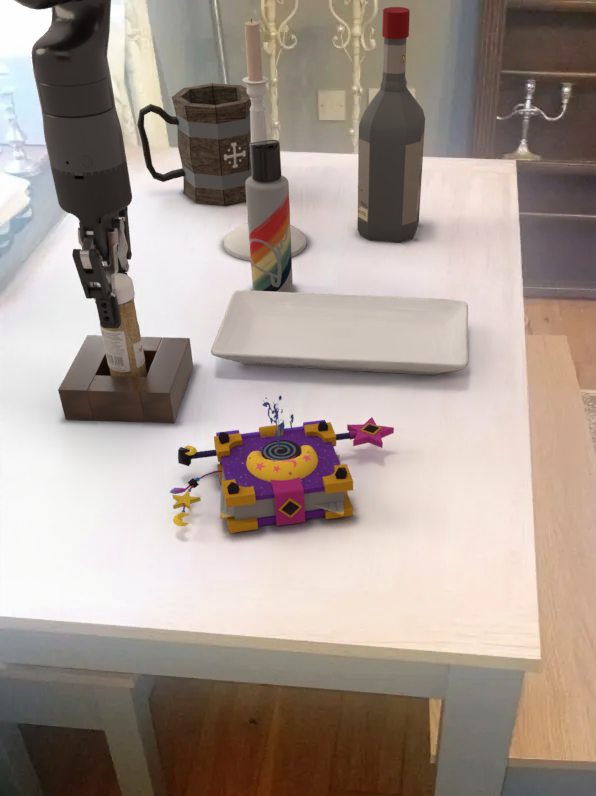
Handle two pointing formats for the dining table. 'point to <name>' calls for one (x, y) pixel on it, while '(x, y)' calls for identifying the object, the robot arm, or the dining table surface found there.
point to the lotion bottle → (269, 219)
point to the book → (279, 473)
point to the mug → (208, 142)
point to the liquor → (391, 145)
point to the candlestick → (256, 140)
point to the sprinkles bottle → (124, 334)
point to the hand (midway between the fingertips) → (116, 315)
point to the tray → (344, 332)
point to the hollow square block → (127, 383)
